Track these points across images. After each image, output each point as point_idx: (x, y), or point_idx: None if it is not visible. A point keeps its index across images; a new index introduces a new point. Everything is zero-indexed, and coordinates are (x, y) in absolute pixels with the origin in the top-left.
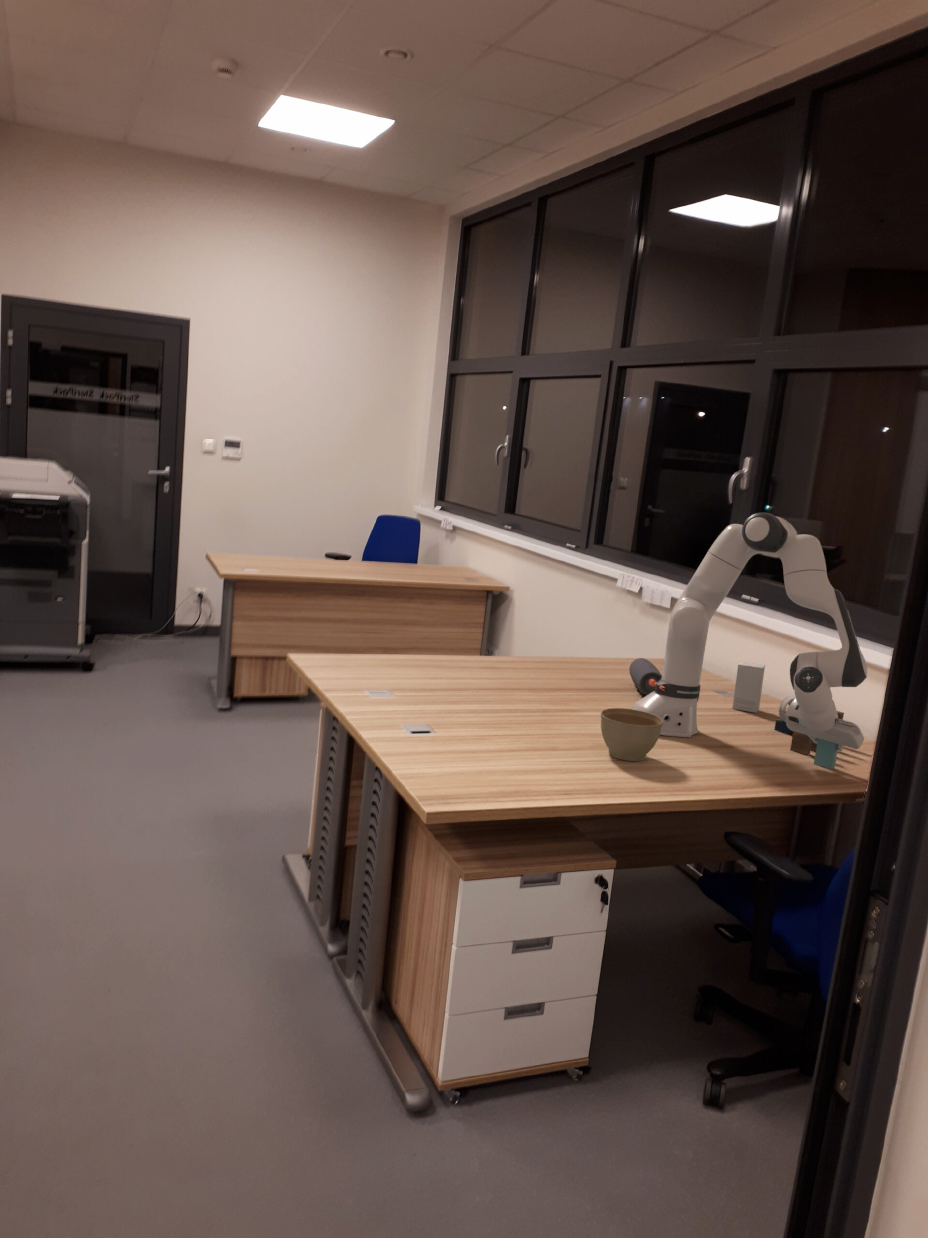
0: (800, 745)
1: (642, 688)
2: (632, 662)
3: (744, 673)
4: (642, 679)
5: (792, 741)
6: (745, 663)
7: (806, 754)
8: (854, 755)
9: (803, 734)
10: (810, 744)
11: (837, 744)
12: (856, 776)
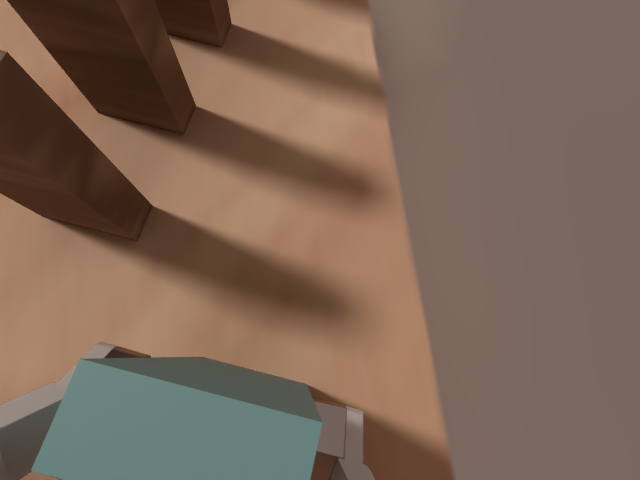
0: (67, 212)
1: None
2: None
3: None
4: None
5: (6, 194)
6: None
7: (133, 239)
8: (347, 52)
9: (19, 179)
10: (120, 192)
11: (311, 474)
12: (441, 446)
